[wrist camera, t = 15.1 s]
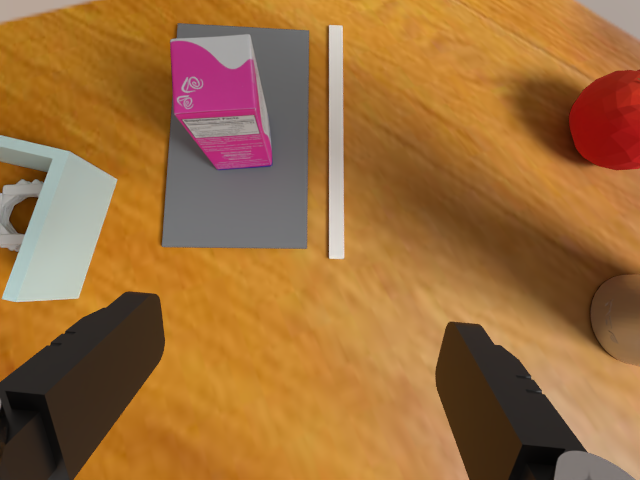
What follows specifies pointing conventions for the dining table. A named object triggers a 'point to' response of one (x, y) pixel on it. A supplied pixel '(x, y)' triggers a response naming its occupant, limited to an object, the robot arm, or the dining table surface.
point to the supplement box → (222, 100)
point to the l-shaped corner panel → (52, 221)
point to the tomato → (609, 121)
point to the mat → (249, 183)
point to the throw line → (336, 144)
